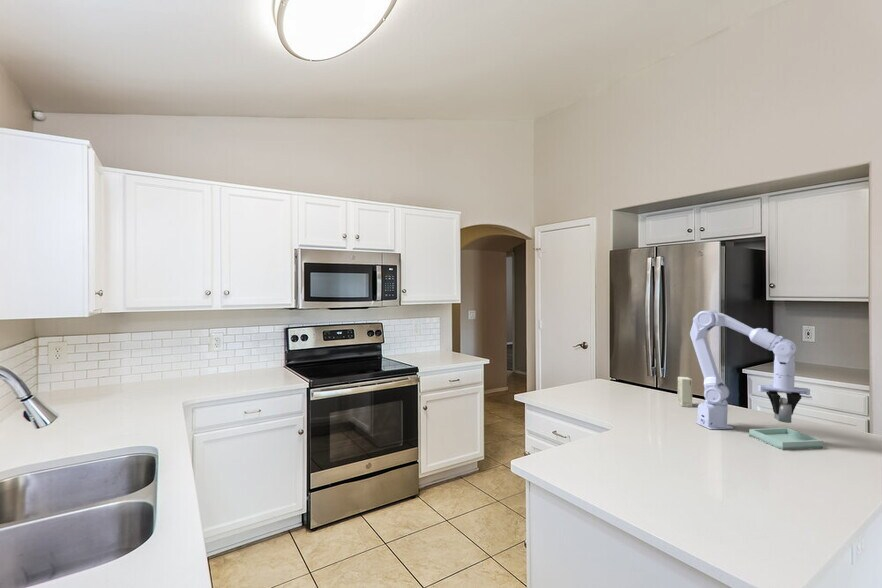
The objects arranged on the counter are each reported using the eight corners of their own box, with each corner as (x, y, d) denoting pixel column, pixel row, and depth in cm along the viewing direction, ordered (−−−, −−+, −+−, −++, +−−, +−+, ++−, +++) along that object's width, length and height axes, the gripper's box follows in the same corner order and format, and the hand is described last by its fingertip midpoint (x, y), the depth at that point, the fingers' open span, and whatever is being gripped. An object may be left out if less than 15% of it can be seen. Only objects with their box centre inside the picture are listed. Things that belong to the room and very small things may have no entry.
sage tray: (782, 450, 142) (782, 442, 142) (749, 436, 155) (749, 429, 155) (822, 448, 144) (822, 440, 144) (786, 434, 157) (786, 427, 157)
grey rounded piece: (781, 422, 148) (781, 400, 148) (772, 416, 155) (773, 395, 155) (793, 423, 148) (793, 401, 147) (784, 417, 154) (784, 396, 154)
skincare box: (692, 407, 191) (693, 379, 191) (681, 406, 192) (682, 379, 192) (687, 403, 197) (687, 376, 197) (676, 402, 198) (677, 376, 198)
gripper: (802, 373, 153) (801, 412, 153) (754, 371, 157) (753, 408, 157) (813, 377, 146) (812, 418, 146) (763, 374, 150) (762, 414, 150)
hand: (782, 413), depth 151 cm, fingers closed on grey rounded piece, 3 cm apart
